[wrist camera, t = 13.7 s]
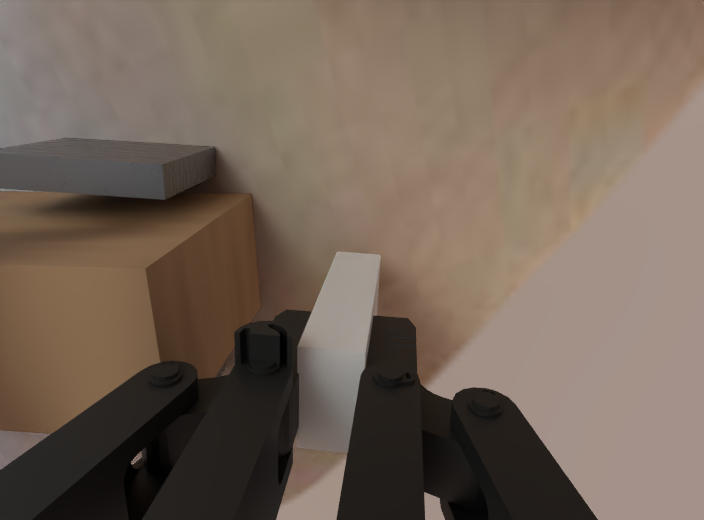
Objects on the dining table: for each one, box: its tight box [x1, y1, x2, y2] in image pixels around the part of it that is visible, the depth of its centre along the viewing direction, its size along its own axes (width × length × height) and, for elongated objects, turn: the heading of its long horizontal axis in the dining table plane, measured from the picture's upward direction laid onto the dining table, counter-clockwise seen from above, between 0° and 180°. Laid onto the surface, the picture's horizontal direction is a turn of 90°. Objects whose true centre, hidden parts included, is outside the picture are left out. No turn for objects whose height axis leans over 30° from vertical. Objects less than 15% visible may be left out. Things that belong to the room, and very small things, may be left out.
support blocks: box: [0, 138, 225, 377], centre depth 18 cm, size 6×9×4 cm, turn 177°
